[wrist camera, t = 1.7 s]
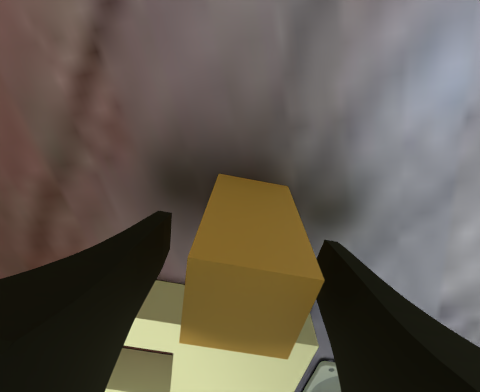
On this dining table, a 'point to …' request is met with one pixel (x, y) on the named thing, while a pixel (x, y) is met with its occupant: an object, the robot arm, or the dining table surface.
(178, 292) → the socket plate
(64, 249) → the dining table surface
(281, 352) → the plug
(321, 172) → the dining table surface
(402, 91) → the dining table surface
